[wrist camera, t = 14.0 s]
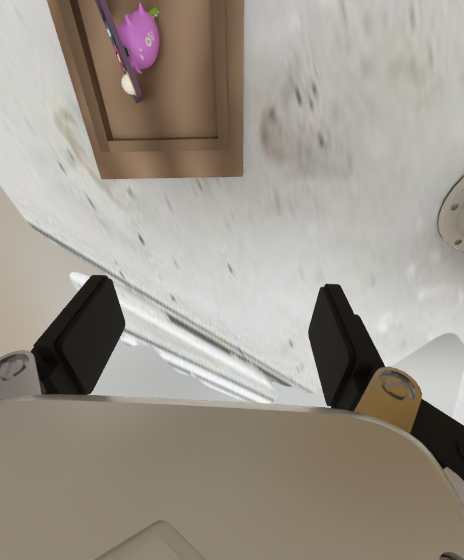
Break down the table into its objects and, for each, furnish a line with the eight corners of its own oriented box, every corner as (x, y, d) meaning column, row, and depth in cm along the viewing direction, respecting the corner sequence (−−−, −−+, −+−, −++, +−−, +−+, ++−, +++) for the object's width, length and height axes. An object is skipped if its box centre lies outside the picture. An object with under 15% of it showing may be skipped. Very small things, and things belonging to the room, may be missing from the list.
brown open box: (243, -124, 18) (245, -153, 16) (242, 173, 30) (243, 180, 28) (19, -116, 19) (-9, -143, 16) (105, 176, 30) (95, 182, 28)
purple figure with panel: (49, -90, 14) (128, 100, 20) (139, -110, 15) (192, 80, 20) (71, -31, 20) (128, 105, 25) (136, -48, 20) (179, 89, 26)
